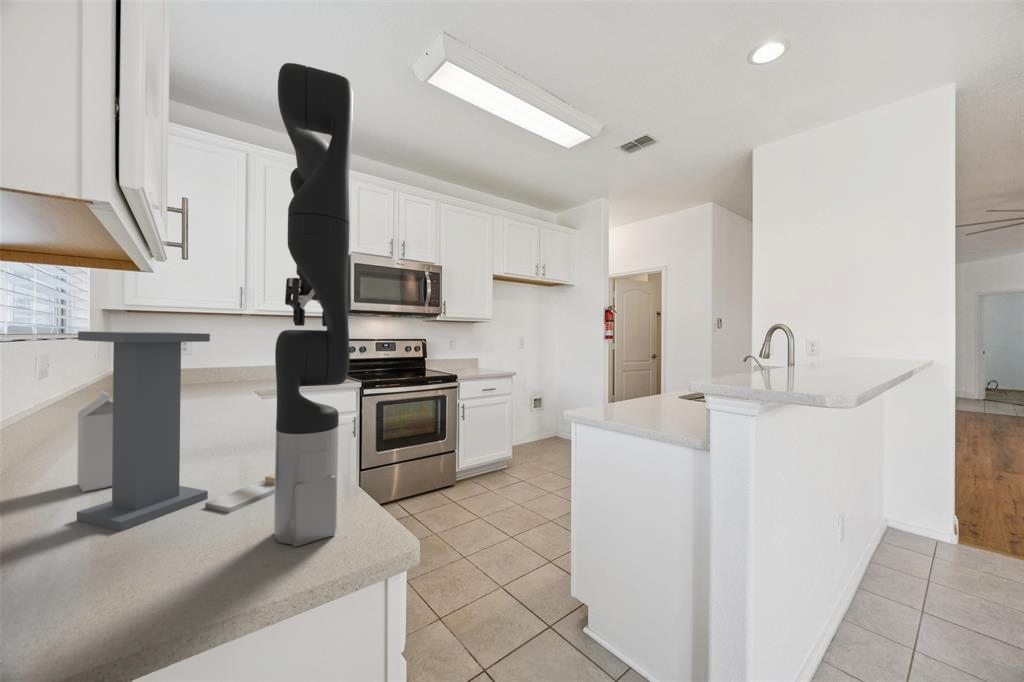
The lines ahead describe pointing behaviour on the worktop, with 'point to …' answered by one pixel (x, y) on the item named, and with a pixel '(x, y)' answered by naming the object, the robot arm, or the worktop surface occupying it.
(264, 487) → the trowel
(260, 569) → the worktop surface
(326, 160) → the robot arm
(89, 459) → the milk carton
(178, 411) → the stand
